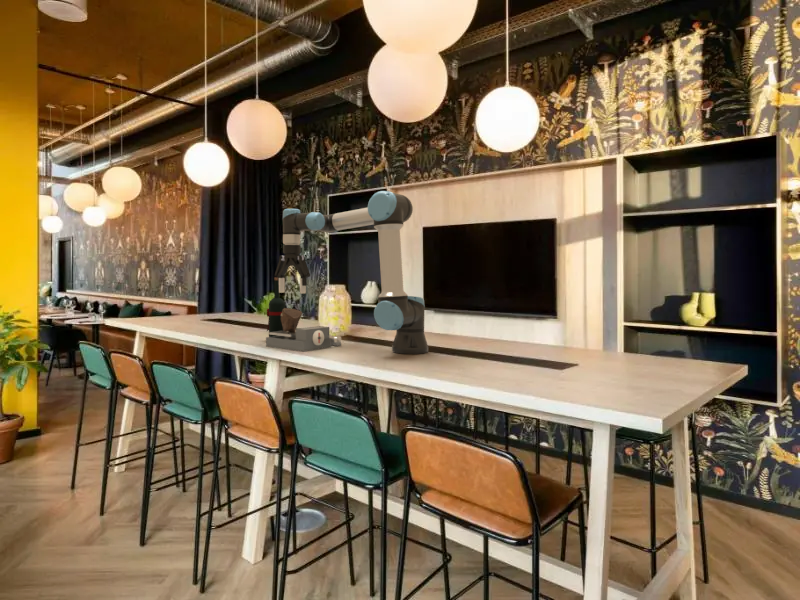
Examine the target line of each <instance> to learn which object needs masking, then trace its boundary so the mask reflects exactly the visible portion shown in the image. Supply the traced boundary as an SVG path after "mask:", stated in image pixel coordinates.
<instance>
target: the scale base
mask: <svg viewBox="0 0 800 600" xmlns="http://www.w3.org/2000/svg"><path fill="white" fill-rule="evenodd" d="M329 335H330V326H323V325H317V326H309V327H308V326H307V327H301V328H300V327H299V328H298V327H297V328H296V336H295V337H287V336H272V337H269V336H265V347H267V346H268V348H269V347H270V348H275V349H283V350H289V351H297V352H309V351H311V352H312V351H316V350H323V349H329V348H331V347H332V346H331V338H329Z"/></svg>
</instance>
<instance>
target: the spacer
mask: <svg viewBox="0 0 800 600" xmlns="http://www.w3.org/2000/svg"><path fill="white" fill-rule="evenodd" d="M330 338H331V347H341V346H342V336H339V335H335V336H334V335H331V337H330Z"/></svg>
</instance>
